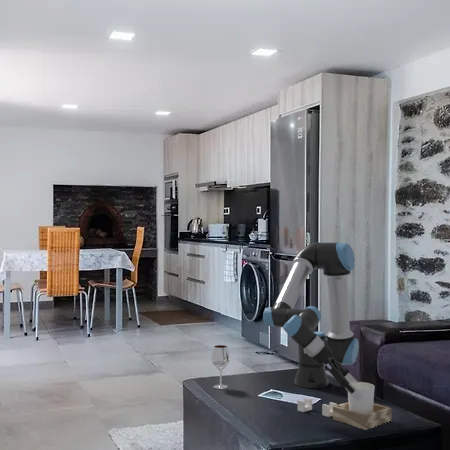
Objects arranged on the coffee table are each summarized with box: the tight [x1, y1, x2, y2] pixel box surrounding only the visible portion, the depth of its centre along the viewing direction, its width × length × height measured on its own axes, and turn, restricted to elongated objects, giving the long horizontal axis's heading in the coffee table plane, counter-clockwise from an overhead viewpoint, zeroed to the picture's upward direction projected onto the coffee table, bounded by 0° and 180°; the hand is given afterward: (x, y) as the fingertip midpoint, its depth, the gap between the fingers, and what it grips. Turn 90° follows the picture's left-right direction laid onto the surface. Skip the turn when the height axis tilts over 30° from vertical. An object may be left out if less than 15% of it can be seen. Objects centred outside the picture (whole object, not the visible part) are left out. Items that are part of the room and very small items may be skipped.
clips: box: [297, 397, 338, 418], centre depth 234 cm, size 8×13×4 cm, turn 39°
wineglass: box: [211, 344, 231, 390], centre depth 271 cm, size 8×8×18 cm
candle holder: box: [347, 381, 375, 415], centre depth 225 cm, size 10×10×12 cm
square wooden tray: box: [332, 402, 392, 431], centre depth 225 cm, size 15×15×5 cm
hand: (359, 393), depth 224 cm, fingers open, 13 cm apart
